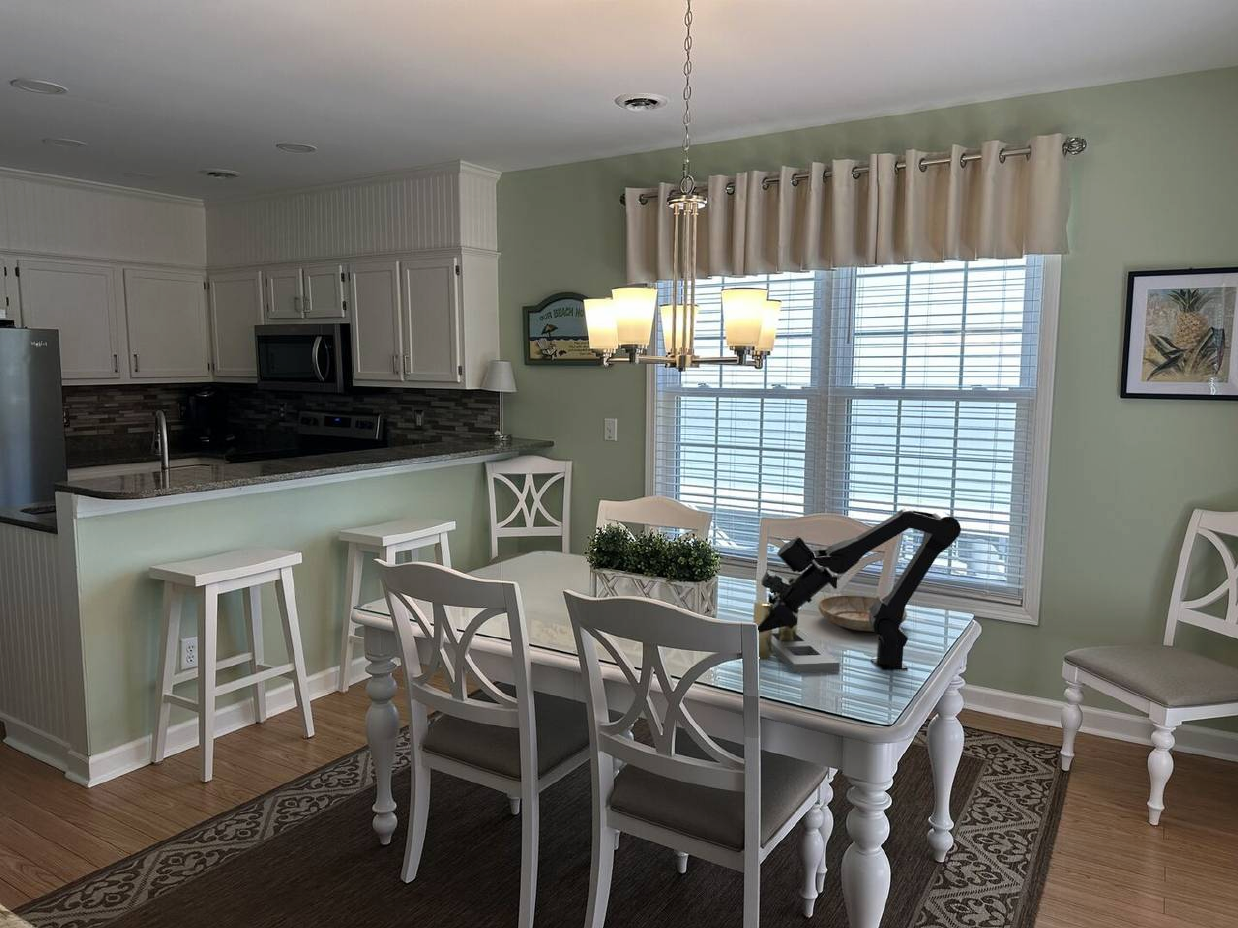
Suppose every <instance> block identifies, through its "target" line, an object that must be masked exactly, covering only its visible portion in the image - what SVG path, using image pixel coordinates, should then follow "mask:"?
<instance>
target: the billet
mask: <svg viewBox="0 0 1238 928" xmlns="http://www.w3.org/2000/svg"><path fill="white" fill-rule="evenodd" d="M796 615H797V624H796V625H795V626H794V627H793V628H792V629H790V628H789V627H788V626H787V627H786V626H784V627H780V628H778V630H779V633H778V641H779V642H794V641H796V640H797V630H798V622H799V620H798V619H799V616H798V615H799V612H797V613H796Z"/></svg>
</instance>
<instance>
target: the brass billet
mask: <svg viewBox="0 0 1238 928" xmlns="http://www.w3.org/2000/svg"><path fill="white" fill-rule="evenodd" d="M770 604H771V605H772V606H773V604H772V603H769V602H768V601H755V602H753V620H752V621H753V622H752V624H753V623H756V624H757V625H758V626H759V625H760V623H761V622H762V621H763V620H764V619H765V618H766V616H767V615H768V614H769V613H770ZM772 631H773V629H772V630H768V631H765V632H761V633H759V657H760V661H766V660H767V661H768V660H770V659H771V656H772V651H771V641H772Z"/></svg>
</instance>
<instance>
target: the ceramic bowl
mask: <svg viewBox="0 0 1238 928" xmlns="http://www.w3.org/2000/svg"><path fill="white" fill-rule="evenodd" d="M876 598H877V597H875V596H869V595H868V596H867V595H854V594H852V595H851V594H849V595H848V594H846V595H845V594H844V595H833V596H829V597H825V598H822V599H821V600H820V601H819V602H818V605H817V606H818V608H817V609H818V610H819V612H820V614H821V615H822V616H823V617H824V618H825V619H827V620H828V621H830V622H831V623H833V624H835V625H837V626H838V627H839V626H840V627H842V628H845V629H850V630H854V631H859V632H875V631H874V629H873V627H872V626H871V624H870V622H869V614H870V611H869V608H871V607H872V606H873V604H874V603H875V600H876ZM907 615H908V612H907V610H906V609H905V610H904V615H903V619H902V621H901V624H903V623H904V622H905V620H906V619H907Z"/></svg>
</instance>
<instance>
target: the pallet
mask: <svg viewBox="0 0 1238 928" xmlns="http://www.w3.org/2000/svg"><path fill="white" fill-rule="evenodd" d="M778 633H779V629H777V630H776V629H772V641H771V653H774V655H775V656H776V657H777V658H778V659H779V660H780V661H782V663H784V665H786V666H787V667H788V668H789V669H790V670H791V672H793V673H797V674H798V673H799V674H801V673H819V672H821V673H822V672H839V671H840V667H841V666H840V665H841V662H840V661H838V659H836V658H835V657H834V656H833V655H831V654H830V653H829V652H828V651H827V650H825V649H824V648H823V647H822V646H820V645H819V644H818V643H816V642H815V640H813V639H812V638H810V637H809V636H808V635H807V634H806V633H804V632H803V631H802V630H801V629H797V640H796V641H794V642H779V641H778Z"/></svg>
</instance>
